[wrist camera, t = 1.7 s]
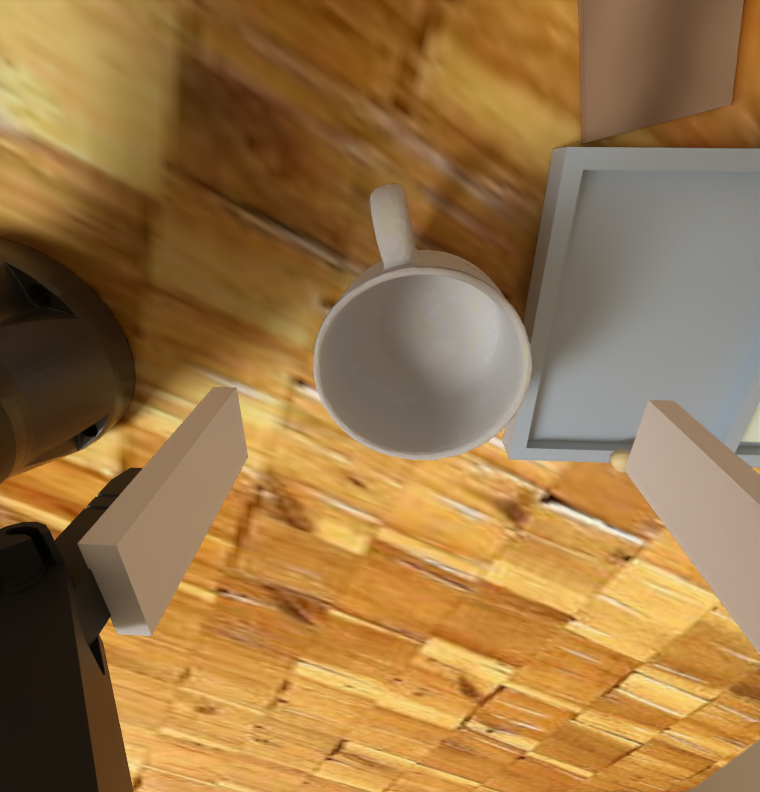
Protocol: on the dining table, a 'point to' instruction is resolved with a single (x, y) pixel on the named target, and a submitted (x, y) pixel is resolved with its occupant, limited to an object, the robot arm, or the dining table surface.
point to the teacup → (420, 348)
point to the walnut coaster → (654, 61)
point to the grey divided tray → (642, 301)
